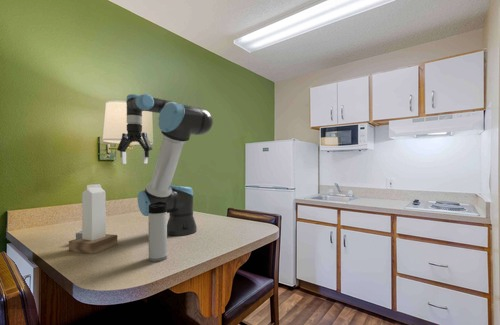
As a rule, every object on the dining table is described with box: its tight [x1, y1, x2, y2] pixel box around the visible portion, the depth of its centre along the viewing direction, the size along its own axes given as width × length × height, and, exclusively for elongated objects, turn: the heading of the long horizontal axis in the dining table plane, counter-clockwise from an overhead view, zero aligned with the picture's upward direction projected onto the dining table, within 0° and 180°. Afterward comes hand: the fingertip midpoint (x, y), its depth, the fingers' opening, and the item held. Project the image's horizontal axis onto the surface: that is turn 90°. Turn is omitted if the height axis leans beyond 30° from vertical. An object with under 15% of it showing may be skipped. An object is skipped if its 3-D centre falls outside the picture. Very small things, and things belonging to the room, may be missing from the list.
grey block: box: [75, 230, 82, 239], centre depth 110 cm, size 5×5×5 cm
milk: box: [81, 183, 107, 241], centre depth 104 cm, size 6×6×22 cm
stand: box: [68, 233, 118, 255], centre depth 104 cm, size 12×12×4 cm
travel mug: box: [147, 202, 168, 263], centre depth 91 cm, size 6×7×20 cm
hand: (134, 163), depth 136 cm, fingers open, 13 cm apart
